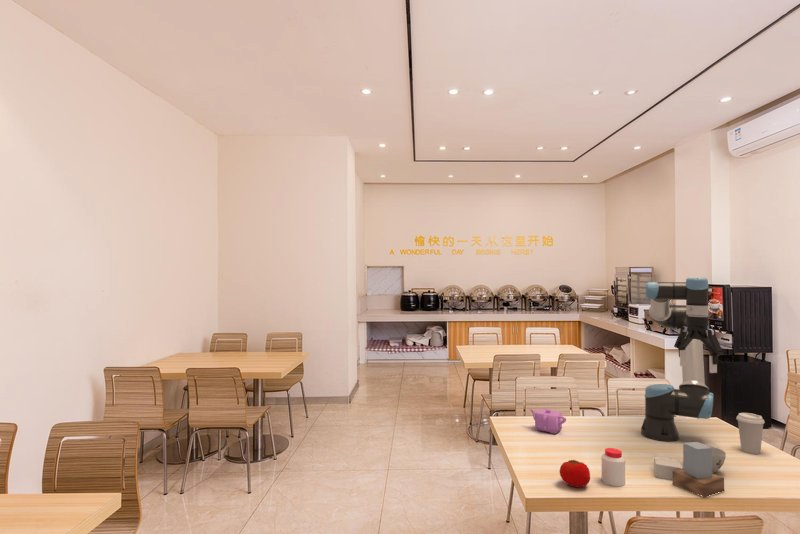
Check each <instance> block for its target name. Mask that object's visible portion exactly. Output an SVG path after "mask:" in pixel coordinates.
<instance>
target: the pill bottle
mask: <svg viewBox="0 0 800 534" xmlns="http://www.w3.org/2000/svg"><path fill="white" fill-rule="evenodd" d="M601 481H602V482H603V483H604V484H606V485H609V486H613V487H624V486H625V485H626V459H625V457H624V456H623V453H622V451H621V450H620V449H618V448H613V447H607V448H605V449H604V453H603V454H602V455H601Z"/></svg>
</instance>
